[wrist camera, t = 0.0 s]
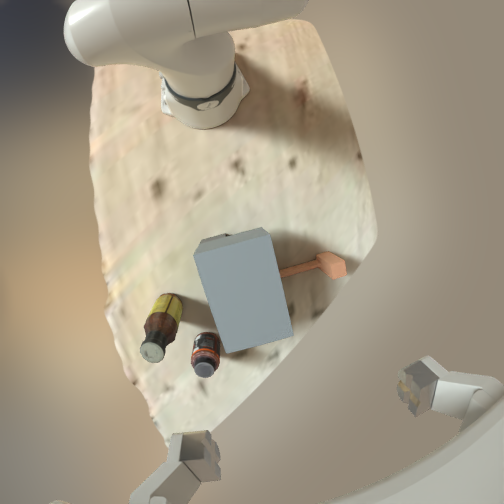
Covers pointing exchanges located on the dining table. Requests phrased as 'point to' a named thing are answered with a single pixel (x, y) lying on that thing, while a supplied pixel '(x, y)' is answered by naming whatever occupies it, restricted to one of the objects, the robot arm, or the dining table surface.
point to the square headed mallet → (320, 266)
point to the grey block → (244, 289)
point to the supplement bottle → (206, 354)
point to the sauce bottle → (161, 327)
